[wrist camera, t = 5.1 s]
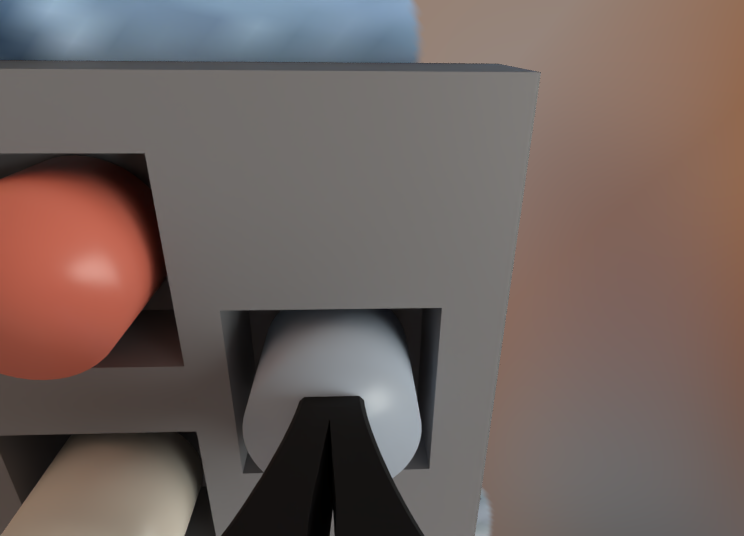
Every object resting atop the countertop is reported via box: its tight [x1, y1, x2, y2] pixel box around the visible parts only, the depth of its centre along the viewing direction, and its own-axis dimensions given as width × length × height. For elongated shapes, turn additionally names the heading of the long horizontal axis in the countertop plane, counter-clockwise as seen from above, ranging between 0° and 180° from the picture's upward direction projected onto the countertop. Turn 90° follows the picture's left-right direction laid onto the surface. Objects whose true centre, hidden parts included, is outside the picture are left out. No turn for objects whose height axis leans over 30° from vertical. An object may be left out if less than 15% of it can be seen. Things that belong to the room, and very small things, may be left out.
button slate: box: [243, 309, 421, 478], centre depth 13 cm, size 4×4×3 cm
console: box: [0, 60, 541, 536], centre depth 13 cm, size 15×14×3 cm
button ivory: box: [1, 432, 203, 536], centre depth 13 cm, size 4×4×3 cm
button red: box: [0, 155, 168, 380], centre depth 11 cm, size 4×4×3 cm
